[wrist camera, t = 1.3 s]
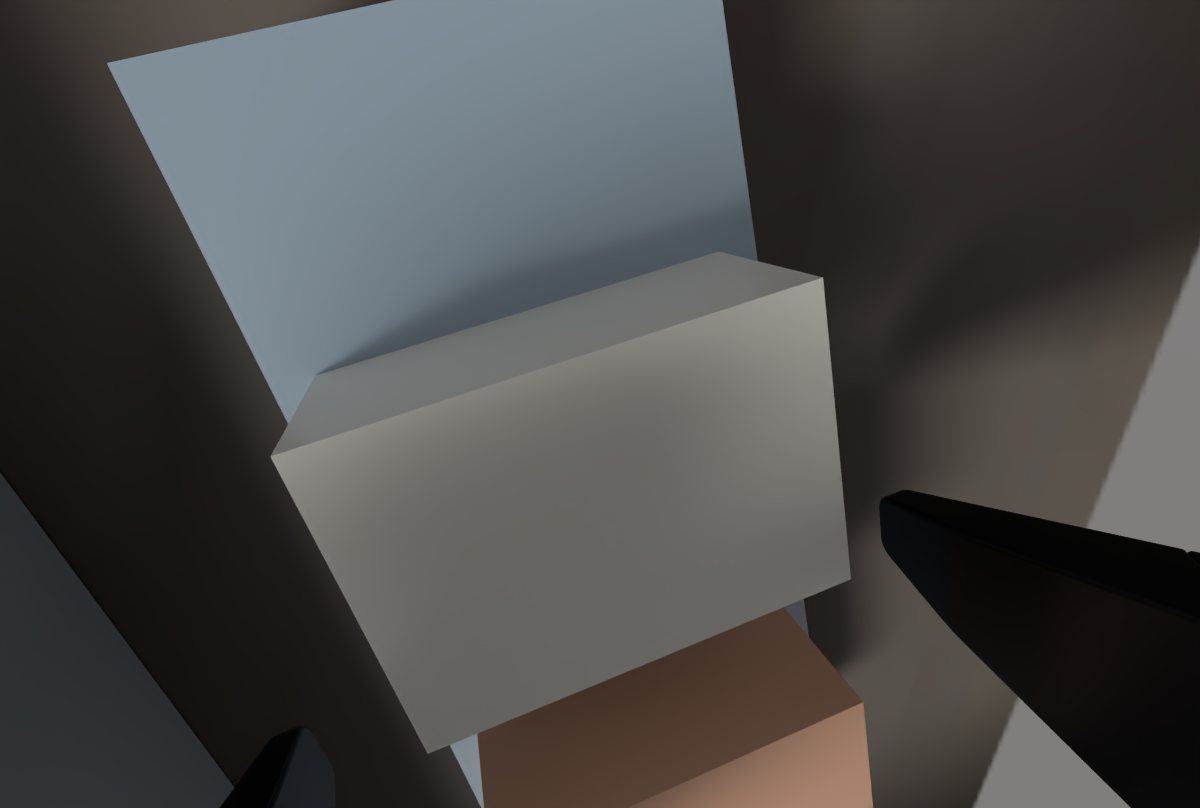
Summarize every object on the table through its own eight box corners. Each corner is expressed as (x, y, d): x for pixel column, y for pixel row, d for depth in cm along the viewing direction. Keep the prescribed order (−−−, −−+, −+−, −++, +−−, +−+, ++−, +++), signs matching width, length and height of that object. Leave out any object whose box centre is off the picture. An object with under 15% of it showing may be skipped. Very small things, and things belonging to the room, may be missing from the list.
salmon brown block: (798, 743, 11) (878, 866, 9) (542, 859, 11) (568, 1018, 9) (774, 596, 10) (863, 702, 8) (476, 717, 9) (490, 869, 7)
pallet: (755, 712, 16) (837, 845, 13) (536, 807, 15) (566, 976, 12) (617, 12, 10) (712, -71, 6) (224, 105, 9) (106, 64, 5)
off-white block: (756, 490, 9) (851, 578, 7) (426, 615, 8) (427, 753, 6) (718, 251, 8) (823, 277, 6) (314, 375, 7) (269, 456, 5)
